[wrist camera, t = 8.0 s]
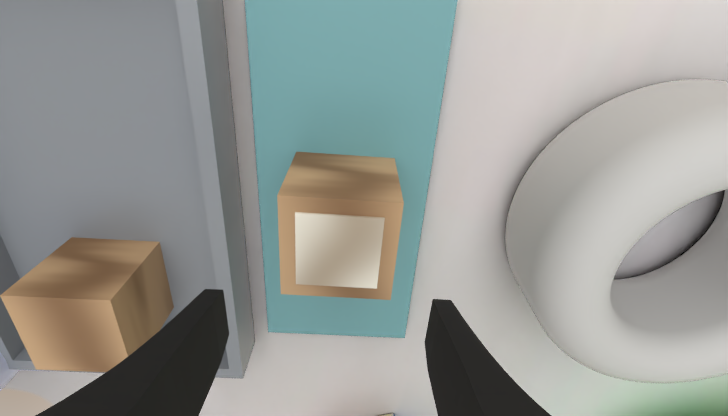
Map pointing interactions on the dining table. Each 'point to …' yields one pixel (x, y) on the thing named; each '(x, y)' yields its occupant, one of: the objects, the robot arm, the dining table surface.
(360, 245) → the labelled box
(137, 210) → the tray
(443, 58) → the teal board
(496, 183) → the dining table surface
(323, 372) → the dining table surface
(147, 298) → the plain box
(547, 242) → the fat ring
